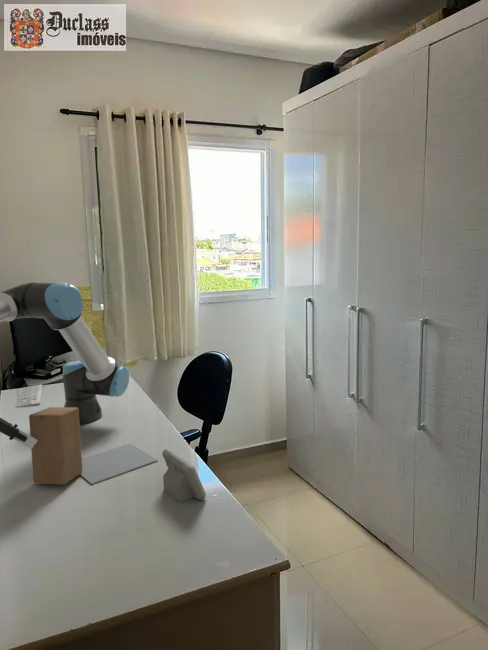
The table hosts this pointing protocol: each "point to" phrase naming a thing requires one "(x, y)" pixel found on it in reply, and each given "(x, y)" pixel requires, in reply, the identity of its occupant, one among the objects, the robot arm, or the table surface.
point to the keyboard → (29, 396)
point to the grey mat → (114, 463)
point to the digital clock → (181, 478)
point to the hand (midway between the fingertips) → (33, 443)
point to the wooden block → (56, 445)
